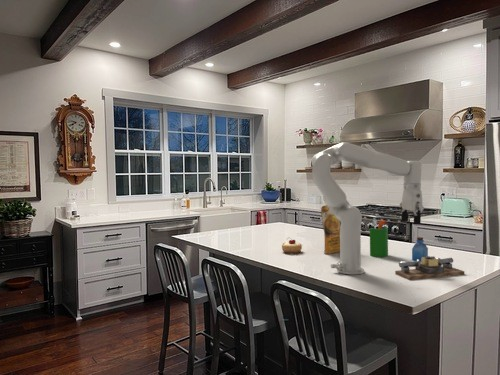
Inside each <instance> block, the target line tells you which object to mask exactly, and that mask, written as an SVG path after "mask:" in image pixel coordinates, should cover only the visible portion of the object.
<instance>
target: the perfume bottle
mask: <svg viewBox="0 0 500 375" xmlns="http://www.w3.org/2000/svg"><path fill="white" fill-rule="evenodd" d="M415 242H416V243H415V244H414V246H412V248H411V261H416V260H420V262H421V257H425V256H429V254H428V253H429V251H428V250H429V247H428V246H427V245H426V243H424V237H419V236H418V237H416V240H415Z"/></svg>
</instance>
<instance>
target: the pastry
mask: <svg viewBox="0 0 500 375" xmlns="http://www.w3.org/2000/svg"><path fill="white" fill-rule="evenodd" d="M288 239H289V237H287V238H286V241H287V240H288ZM302 246H303V245H302V243H300V242H297V241H296V240H295V239H291V240H290V239H289V240H288V241H287V242H283V243H282V244H281V249H282V252H285V254H289V253H294V254H299V253H301V251H302V249H303V247H302Z"/></svg>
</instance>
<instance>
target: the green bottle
mask: <svg viewBox="0 0 500 375" xmlns="http://www.w3.org/2000/svg"><path fill="white" fill-rule="evenodd" d="M386 222H387V221H386V220H379V222H378V224H377V225H378V227H377V228H372V227H370V228H369V256H370V257H375V258H386V257H388V256H389V230H388V229H389V228H388V226H387V227H386V226H385V225H386V224H387V223H386Z"/></svg>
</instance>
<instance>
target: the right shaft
mask: <svg viewBox="0 0 500 375" xmlns="http://www.w3.org/2000/svg"><path fill="white" fill-rule="evenodd" d="M435 258H436V259H438V265H439V266H442V267H444V268H446V269H452V267H453V263H454V259H453V258H452V257H447V258H446V257H445V258H440V257H435Z"/></svg>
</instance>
